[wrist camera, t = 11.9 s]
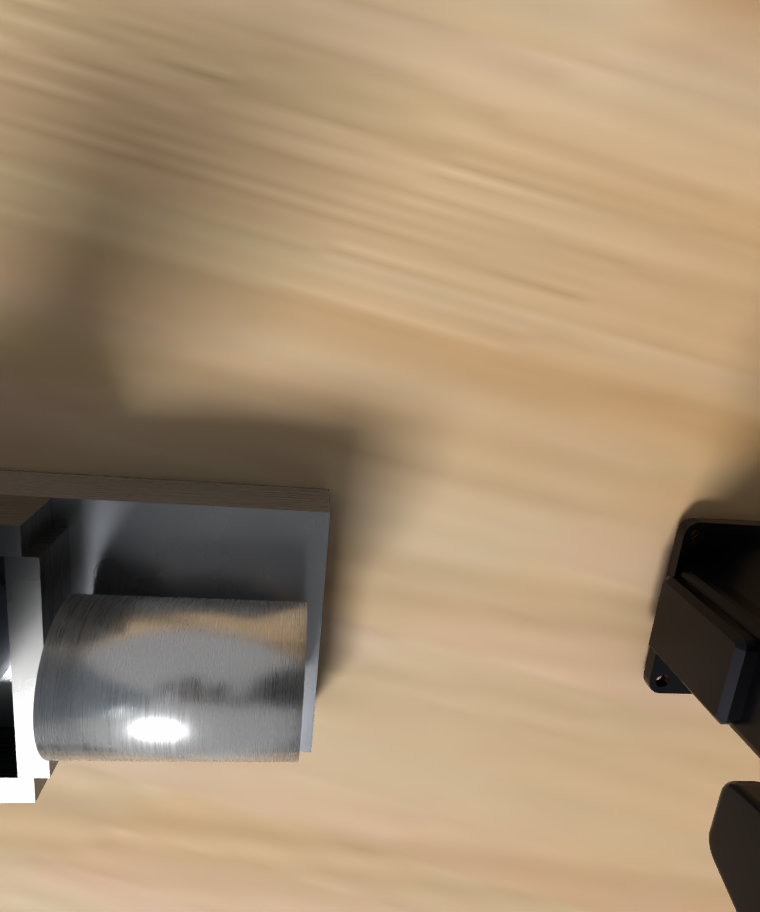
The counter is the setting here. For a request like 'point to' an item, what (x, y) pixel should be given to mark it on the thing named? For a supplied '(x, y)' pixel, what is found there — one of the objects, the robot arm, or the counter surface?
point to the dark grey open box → (157, 622)
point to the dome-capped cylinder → (4, 634)
